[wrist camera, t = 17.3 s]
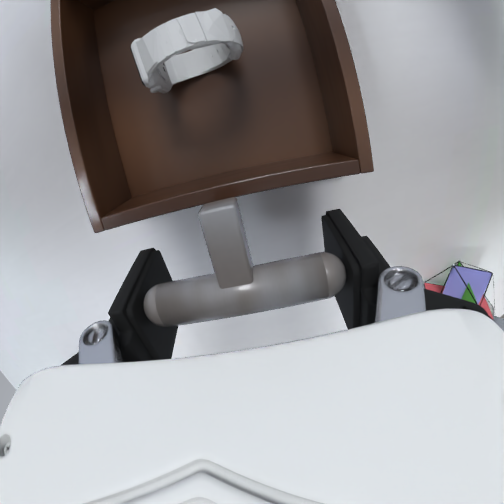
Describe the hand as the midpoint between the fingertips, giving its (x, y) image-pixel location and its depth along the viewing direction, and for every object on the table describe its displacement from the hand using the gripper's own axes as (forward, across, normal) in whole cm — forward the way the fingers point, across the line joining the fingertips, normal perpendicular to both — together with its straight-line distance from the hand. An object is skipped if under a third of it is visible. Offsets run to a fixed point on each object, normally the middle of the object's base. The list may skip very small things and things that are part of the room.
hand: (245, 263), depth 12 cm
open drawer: (+3, 0, -6) cm, 7 cm away
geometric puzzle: (+8, -16, +11) cm, 21 cm away
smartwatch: (+3, 0, -8) cm, 9 cm away
